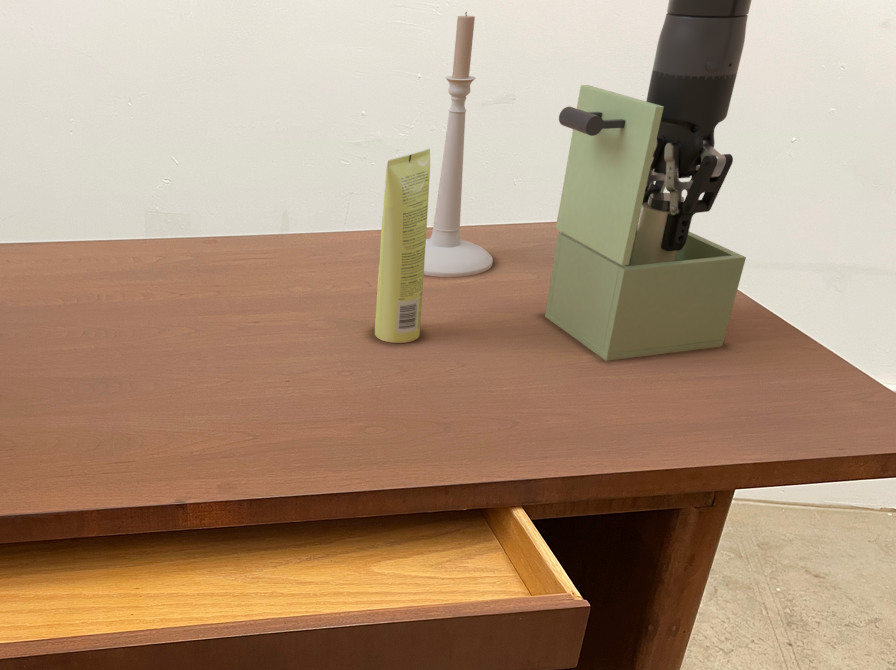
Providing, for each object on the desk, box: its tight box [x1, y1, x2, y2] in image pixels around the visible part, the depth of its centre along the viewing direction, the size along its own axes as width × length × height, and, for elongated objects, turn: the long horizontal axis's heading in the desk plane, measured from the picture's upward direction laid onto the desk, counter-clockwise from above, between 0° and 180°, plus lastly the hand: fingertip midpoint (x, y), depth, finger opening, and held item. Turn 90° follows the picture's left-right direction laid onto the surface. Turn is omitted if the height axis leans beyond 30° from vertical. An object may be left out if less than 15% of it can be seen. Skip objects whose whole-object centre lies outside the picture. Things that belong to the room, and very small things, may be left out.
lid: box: [555, 84, 664, 265], centre depth 91 cm, size 15×13×5 cm
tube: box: [374, 147, 431, 344], centre depth 97 cm, size 6×5×20 cm
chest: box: [544, 231, 747, 362], centre depth 100 cm, size 14×13×10 cm
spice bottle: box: [629, 192, 685, 266], centre depth 98 cm, size 4×4×11 cm
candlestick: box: [424, 11, 494, 278], centre depth 116 cm, size 13×13×30 cm
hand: (656, 241), depth 97 cm, fingers closed on spice bottle, 4 cm apart
